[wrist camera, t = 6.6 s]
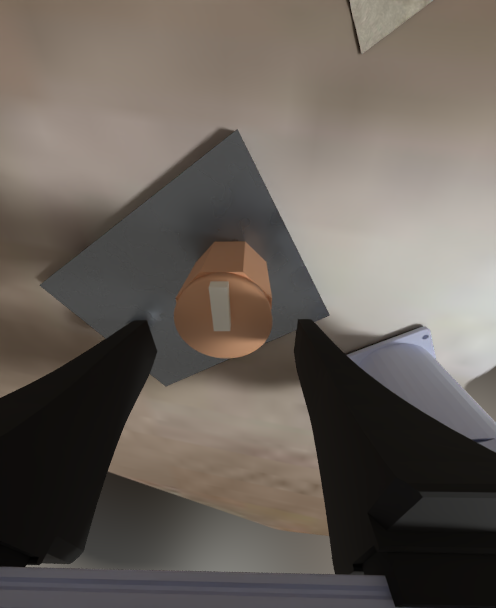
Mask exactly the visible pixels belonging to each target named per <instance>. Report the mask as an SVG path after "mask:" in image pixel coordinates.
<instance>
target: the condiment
mask: <svg viewBox="0 0 496 608" xmlns="http://www.w3.org/2000/svg"><path fill="white" fill-rule="evenodd" d="M432 1H433V0H350V5H351V11H352V16H353V20H354V23H355V26H356V31H357V35H358V40H359V44H360V49H361V54H363V53H364V52H365V51H367V50H368V49H369V48H371V47H372V46H373V45H374V44H376V43H377V42H378V41H380V40H381V39H382V38H384V37H385V36H386V35H388V34H389V33H391V32H392V31H393V30H395V29H396V28H397V27H398V26H400V25H401V24H402V23H404V22H405V21H406V20H408V19H409V18H410V17H412V16H413V15H414V14H415V13H417V12H418V11H420V10H421V9H422V8H424V7H425V6H426V5H428V4H429V3H430V2H432Z"/></svg>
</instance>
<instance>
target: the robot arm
mask: <svg viewBox="0 0 496 608" xmlns="http://www.w3.org/2000/svg"><path fill="white" fill-rule="evenodd" d="M156 354H157V349H156V346H155V343H154V340H153V337H152V334H151V331H150V328H149V325H148V322H147V320H134V321H132V322H131V323H129V324H127V325H126V326H124V327H123V328H121V329H120V330H118V331H117V332H115V333H114V334H112V335H111V336H109V337H108V338H106V339H105V340H103V341H102V342H100V343H99V344H97V345H96V346H94V347H92V348H91V349H89V350H88V351H86V352H85V353H83V354H81V355H80V356H78V357H76V358H75V359H73V360H72V361H70V362H68V363H67V364H65V365H63V366H62V367H60V368H58V369H56V370H55V371H53V372H51V373H49V374H47V375H46V376H44V377H42V378H40V379H38V380H36V381H34V382H32V383H30V384H29V385H26V386H24V387H22V388H20V389H18V390H16V391H14V392H12V393H10V394H8V395H6V396H4V397H1V398H0V608H496V422H495V421H494V420H493V419H492V418H491V417H490V416H489V415H488V414H487V413H486V412H485V411H484V410H483V408H482V407H481V406H480V405H479V404H477V402H476V401H475V400H474V399H473V398H472V397H471V396H470V395H469V394H468V393H467V392H466V391H465V390H464V389H463V388H462V387H461V385H460V384H459V383H458V382H457V381H456V380H455V379H454V378H453V377H452V376H451V375H450V374H449V373H448V372H447V371H446V370H445V369H444V368H443V367H442V366H441V365H440V364H439V362H438V361H437V360H436V356H435V351H434V346H433V342H432V337H431V332H430V330H429V329H428V328H427V327H420V328H417V329H415V330H412V331H409V332H406V333H404V334H401V335H398V336H396V337H393V338H390V339H388V340H385V341H382V342H380V343H377V344H374V345H371V346H369V347H366V348H363V349H361V350H358V351H355V352H353V353H350V354H347V355H346V354H344V353H343V352H342V351H341V350H340V349H339V348H338V347H337V346H336V345H335V344H334V343H333V342H332V341H331V340H330V339H329V338H328V337H327V336H326V334H325V333H324V332H323V331H322V330H321V329H320V328H319V327H318V326H317V325H316V324H315V323H314V322H313V321H312V319H298V323H297V331H296V339H295V347H294V355H295V362H296V368H297V373H298V376H299V380H300V384H301V387H302V391H303V395H304V398H305V402H306V405H307V409H308V412H309V416H310V420H311V425H312V430H313V435H314V441H315V446H316V452H317V458H318V464H319V470H320V476H321V482H322V489H323V495H324V502H325V508H326V515H327V523H328V530H329V537H330V544H331V551H332V559H333V566H334V571H335V574H295V573H294V574H293V573H292V574H291V573H250V572H209V571H207V572H206V571H165V570H162V571H161V570H123V569H80V568H35V567H33V568H32V567H25V566H26V565H40V564H41V563H54V564H56V563H57V564H70V563H72V562H73V561H75V560H76V559H77V558H78V557H79V556H80V555H81V554H82V552H83V551H84V548H85V544H86V541H87V537H88V533H89V530H90V526H91V523H92V519H93V516H94V512H95V509H96V505H97V502H98V499H99V496H100V493H101V490H102V487H103V483H104V480H105V477H106V474H107V471H108V468H109V466H110V463H111V460H112V457H113V454H114V451H115V449H116V446H117V443H118V441H119V438H120V436H121V433H122V430H123V428H124V425H125V423H126V421H127V419H128V416H129V414H130V412H131V410H132V408H133V406H134V404H135V402H136V400H137V398H138V396H139V394H140V392H141V390H142V388H143V386H144V384H145V382H146V380H147V378H148V376H149V374H150V372H151V369H152V367H153V364H154V361H155V358H156Z"/></svg>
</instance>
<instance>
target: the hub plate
mask: <svg viewBox="0 0 496 608" xmlns="http://www.w3.org/2000/svg"><path fill="white" fill-rule="evenodd" d="M234 241H245V242H246V243H247V244H248V245H249V246H250V247H252V248H253V249H254V250H255V251H256V252H257V253H258V254H259V255H260V256H261V257H262V258H263V259H264V260H265V261H266V263H267V269H268V276H269V282H270V288H271V294H272V308H271V313H272V329H271V332H270V335H269V337H268V338H267V340H266V341H265V343H267V342H269V341H272V340H274V339H276V338H279V337H281V336H283V335H285V334H288V333H290V332H292V331H295V330H297V323H298V319H312V321H313V322H315V321H318V320H320V319H322V318H325V317H327V316H329V313H328V311H327V309H326V307H325V305H324V303H323V301H322V299H321V297H320V295H319V293H318V291H317V289H316V287H315V285H314V283H313V281H312V279H311V277H310V275H309V273H308V270H307V268H306V266H305V264H304V262H303V260H302V258H301V256H300V254H299V252H298V250H297V248H296V246H295V244H294V242H293V240H292V238H291V236H290V234H289V232H288V230H287V228H286V226H285V224H284V222H283V220H282V218H281V216H280V214H279V212H278V210H277V208H276V206H275V204H274V202H273V200H272V198H271V196H270V194H269V192H268V190H267V188H266V186H265V184H264V182H263V180H262V178H261V176H260V174H259V172H258V170H257V168H256V166H255V164H254V162H253V160H252V158H251V156H250V154H249V152H248V150H247V148H246V146H245V144H244V142H243V139H242V137H241V135H240V133H239V131H238V129H237V130H236V131H235V132H233V133H232V134H231V135H229V136H228V137H227V138H226V139H224V140H223V141H222V142H221V143H219V144H218V145H217V146H216V147H214V148H213V149H212V150H210V151H209V152H208V153H207V154H205V155H204V156H203V157H202V158H200V159H199V160H198V161H196V162H195V163H194V164H193V165H191V166H190V167H189V168H188V169H186V170H185V171H184V172H183V173H181V174H180V175H179V176H177V177H176V178H175V179H174V180H172V181H171V182H170V183H169V184H167V185H166V186H165V187H163V188H162V189H161V190H160V191H158V192H157V193H156V194H155V195H153V196H152V197H151V198H150V199H148V200H147V201H146V202H144V203H143V204H142V205H141V206H139V207H138V208H137V209H136V210H134V211H133V212H132V213H130V214H129V215H128V216H127V217H125V218H124V219H123V220H122V221H120V222H119V223H118V224H117V225H115V226H114V227H113V228H111V229H110V230H109V231H108V232H106V233H105V234H104V235H103V236H101V237H100V238H99V239H98V240H96V241H95V242H94V243H92V244H91V245H90V246H89V247H87V248H86V249H85V250H84V251H82V252H81V253H80V254H78V255H77V256H76V257H75V258H73V259H72V260H71V261H70V262H68V263H67V264H66V265H65V266H63V267H62V268H61V269H59V270H58V271H57V272H56V273H54V274H53V275H52V276H51V277H49V278H48V279H47V280H45V281H44V282H43V283H42V284H40V286H41V287H42V288H43V289H45V290H46V291H47V292H48V293H50V294H51V295H52V296H53V297H55V298H56V299H57V300H58V301H60V302H61V303H62V304H63V305H65V306H66V307H67V308H68V309H70V310H71V311H72V312H73V313H75V314H76V315H77V316H78V317H80V318H81V319H82V320H83V321H85V322H86V323H87V324H88V325H90V326H91V327H92V328H93V329H95V330H96V331H97V332H98V333H100V334H101V335H102V336H103V337H105V338H108V337H109V336H111V335H112V334H114V333H115V332H117V331H118V330H120V329H121V328H123V327H124V326H126V325H127V324H129V323H131V322H132V321H134V320H147V322H148V325H149V328H150V331H151V334H152V337H153V340H154V343H155V346H156V349H157V354H156V358H155V361H154V364H153V367H152V369H151V372H150V374H151V375H152V376H153V377H155V378H156V379H157V380H158V381H160V382H161V383H162V384H163V385H165V386H168V385H170V384H173V383H175V382H177V381H180V380H182V379H184V378H187V377H189V376H191V375H193V374H196V373H198V372H200V371H203V370H205V369H207V368H210V367H212V366H214V365H216V364H219V363H221V362H223V361H226V360H228V359H230V358H216V357H211V356H208V355H205V354H202V353H200V352H198V351H196V350H195V349H193V348H192V347H190V346H189V345H188V344H187V343H186V342H185V341H184V340H183V339H182V338H181V336H180V335H179V333H178V331H177V329H176V326H175V323H174V310H175V306H176V299H175V298H176V296H177V295H178V293H179V291H180V289H181V288H182V286H183V284H184V282H185V281H186V279H187V277H188V275H189V274H190V272H191V270H192V268H193V267H194V265H195V263H196V262H197V261H198V259H199V258H200V257H201V256H202V255H203V254H204V253H205V252H206V251H207V249H208V248H209V247H210V246H211V245H212V244H213V243H214V242H234ZM265 343H264V344H265Z"/></svg>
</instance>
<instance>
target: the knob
mask: <svg viewBox="0 0 496 608" xmlns="http://www.w3.org/2000/svg"><path fill="white" fill-rule="evenodd" d="M175 299H176V306H175V310H174V323H175V326H176V329H177V331H178V333H179V335H180V336H181V338H182V339H183V340H184V341H185V342H186V343H187V344H188V345H189V346H190V347H192V348H193V349H195V350H196V351H198V352H200V353H202V354H205V355H208V356H211V357H216V358H237V357H241V356H245V355H247V354H250V353H252V352H254V351H255V350H257V349H258V348H259V347H261V346H262V345H263V344H264V343H265V341H266V340H267V338H268V337H269V335H270V332H271V329H272V313H271V308H272V294H271V288H270V282H269V276H268V269H267V263H266V261H265V260H264V259H263V258H262V257H261V256H260V255H259V254H258V253H257V252H256V251H255V250H254V249H253V248H252V247H250V246H249V245H248V244H247V243H246V242H245V241H234V242H214V243H213V244H212V245H211V246H210V247H209V248H208V249H207V251H206V252H205V253H204V254H203V255H202V256H201V257H200V258H199V259H198V261H197V262H196V263H195V265H194V267H193V268H192V270H191V272H190V274H189V275H188V277H187V279H186V281H185V282H184V284H183V286H182V288H181V289H180V291H179V293H178V295H177V296H176V298H175Z"/></svg>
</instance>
